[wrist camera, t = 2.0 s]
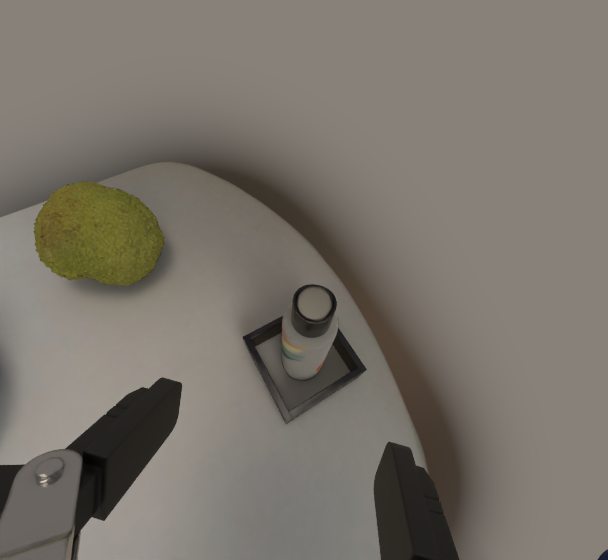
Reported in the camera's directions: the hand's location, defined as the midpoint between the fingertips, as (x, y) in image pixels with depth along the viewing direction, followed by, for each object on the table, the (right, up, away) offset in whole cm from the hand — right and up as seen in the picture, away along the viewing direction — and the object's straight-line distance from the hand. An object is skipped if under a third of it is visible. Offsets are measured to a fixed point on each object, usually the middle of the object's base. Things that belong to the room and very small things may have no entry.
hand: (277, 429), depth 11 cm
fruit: (-29, +9, +38) cm, 48 cm away
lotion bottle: (+1, -6, +31) cm, 32 cm away
